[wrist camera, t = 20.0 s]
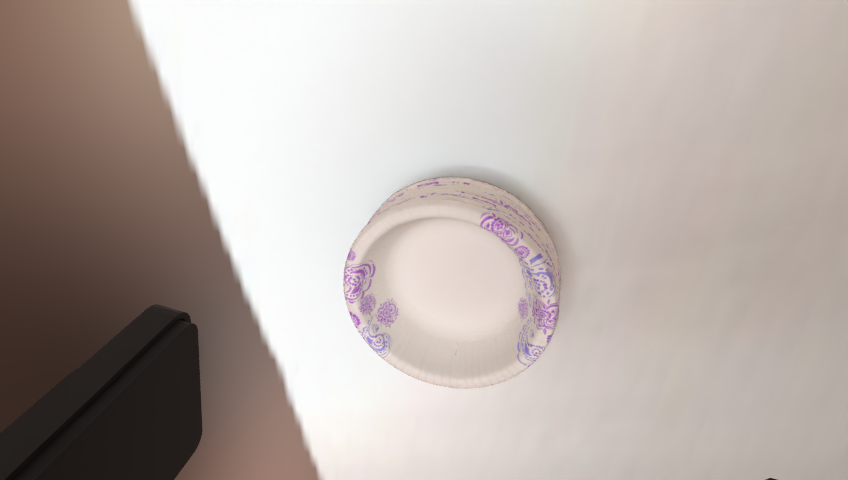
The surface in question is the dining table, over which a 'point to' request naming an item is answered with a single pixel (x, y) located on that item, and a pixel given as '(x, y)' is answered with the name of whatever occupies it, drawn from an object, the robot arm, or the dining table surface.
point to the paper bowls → (454, 283)
